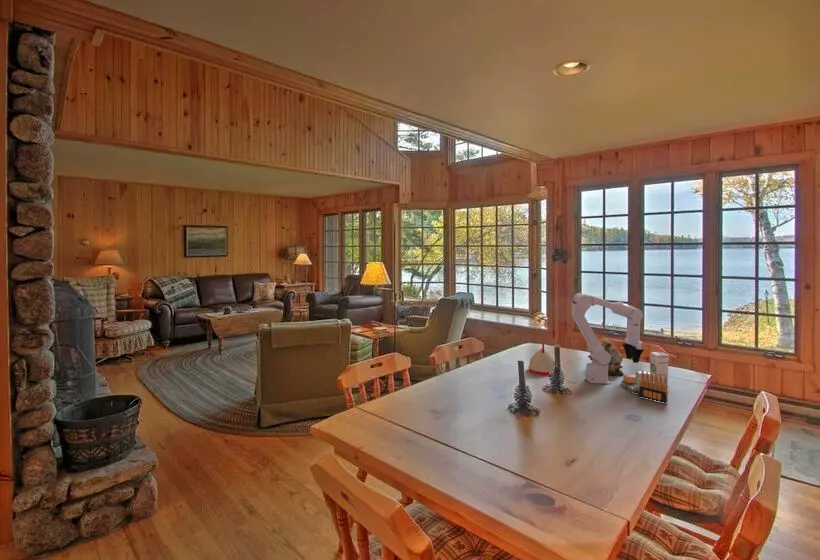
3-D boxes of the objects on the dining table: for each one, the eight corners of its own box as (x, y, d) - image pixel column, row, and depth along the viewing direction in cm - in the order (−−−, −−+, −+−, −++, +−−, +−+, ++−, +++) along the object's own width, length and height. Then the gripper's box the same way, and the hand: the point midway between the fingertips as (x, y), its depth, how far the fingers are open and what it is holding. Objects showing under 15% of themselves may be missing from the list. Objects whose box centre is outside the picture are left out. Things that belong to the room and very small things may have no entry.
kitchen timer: (528, 374, 214) (529, 345, 213) (529, 366, 227) (529, 339, 226) (557, 376, 210) (558, 347, 209) (556, 368, 223) (556, 341, 222)
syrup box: (668, 385, 196) (669, 354, 195) (655, 385, 196) (656, 354, 195) (661, 381, 202) (662, 351, 201) (648, 381, 202) (650, 351, 201)
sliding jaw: (626, 383, 194) (626, 377, 194) (623, 380, 198) (623, 374, 198) (649, 383, 193) (649, 377, 193) (645, 381, 197) (645, 375, 197)
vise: (633, 394, 184) (634, 386, 184) (620, 383, 198) (621, 376, 198) (662, 395, 183) (662, 387, 183) (647, 384, 197) (647, 377, 197)
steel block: (646, 386, 190) (647, 371, 189) (649, 388, 187) (650, 373, 186) (635, 386, 190) (635, 371, 190) (638, 388, 187) (638, 373, 187)
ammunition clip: (638, 397, 180) (639, 370, 180) (640, 396, 182) (641, 369, 181) (665, 404, 172) (667, 376, 171) (667, 403, 173) (668, 375, 172)
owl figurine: (582, 370, 220) (583, 338, 218) (593, 366, 228) (593, 335, 226) (618, 378, 206) (619, 344, 205) (627, 373, 214) (629, 341, 213)
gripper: (648, 335, 192) (647, 364, 193) (635, 329, 206) (634, 356, 207) (632, 335, 193) (631, 364, 194) (620, 329, 207) (619, 356, 208)
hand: (632, 360), depth 201 cm, fingers open, 7 cm apart
